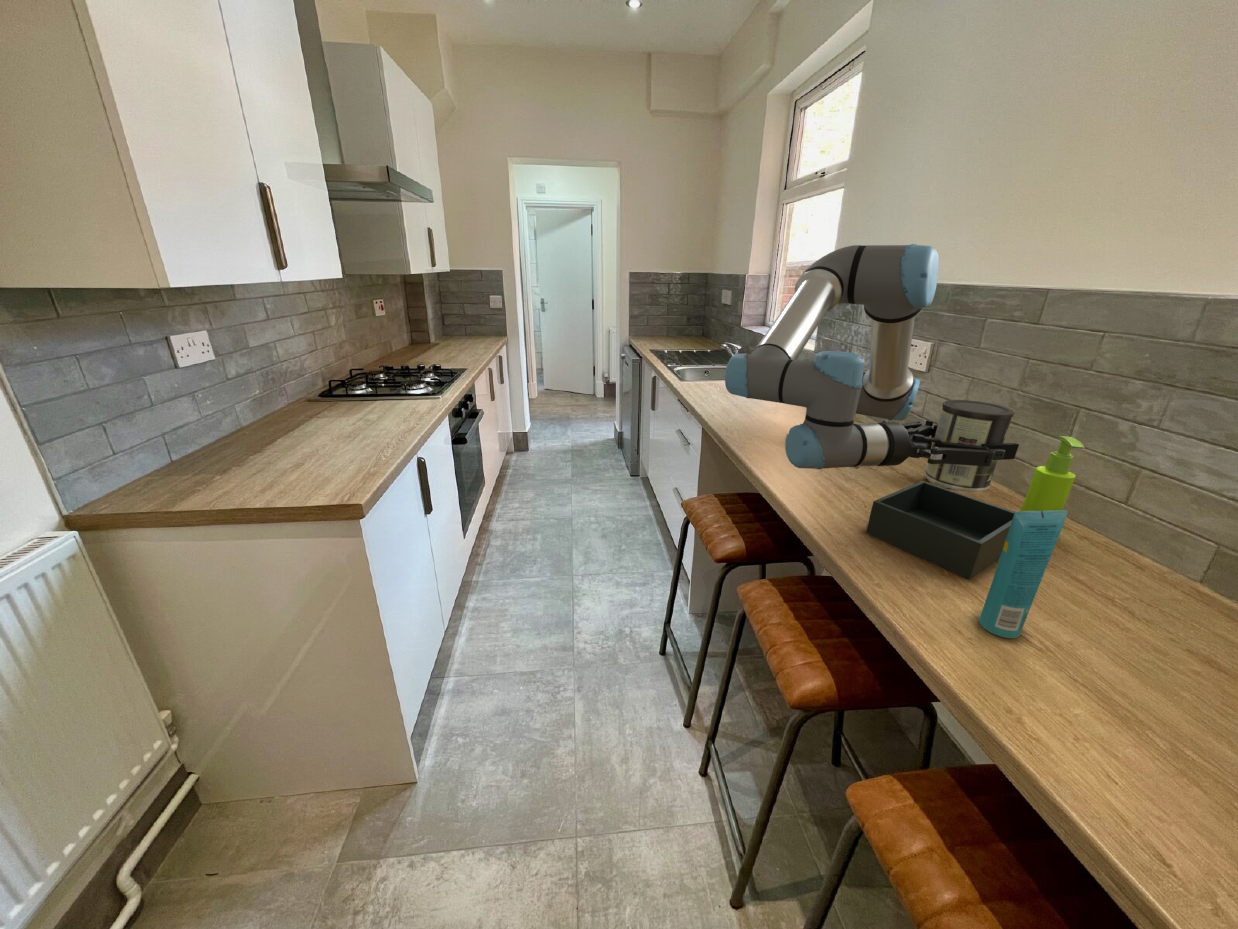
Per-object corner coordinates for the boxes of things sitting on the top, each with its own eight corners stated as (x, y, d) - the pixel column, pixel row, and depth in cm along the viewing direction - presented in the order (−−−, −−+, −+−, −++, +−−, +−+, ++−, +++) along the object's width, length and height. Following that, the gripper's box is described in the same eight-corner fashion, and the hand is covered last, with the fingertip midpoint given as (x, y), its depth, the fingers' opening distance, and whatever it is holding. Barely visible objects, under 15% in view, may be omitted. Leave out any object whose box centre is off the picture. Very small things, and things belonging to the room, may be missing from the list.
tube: (1004, 614, 74) (1048, 501, 67) (1035, 636, 70) (1085, 518, 63) (962, 619, 73) (1002, 504, 66) (990, 642, 69) (1036, 522, 61)
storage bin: (913, 509, 107) (921, 480, 104) (1013, 548, 92) (1026, 515, 90) (865, 532, 97) (873, 501, 94) (969, 579, 83) (981, 544, 80)
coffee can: (973, 472, 94) (995, 401, 89) (1000, 495, 85) (1027, 416, 79) (914, 467, 96) (933, 397, 90) (935, 489, 86) (958, 412, 81)
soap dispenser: (1022, 537, 96) (1059, 442, 89) (1010, 522, 102) (1043, 431, 95) (1059, 543, 94) (1099, 446, 87) (1044, 527, 100) (1080, 435, 93)
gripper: (835, 443, 96) (935, 440, 100) (916, 491, 76) (1040, 485, 79) (842, 406, 93) (945, 404, 97) (929, 446, 73) (1056, 441, 76)
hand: (988, 440), depth 88 cm, fingers closed on coffee can, 10 cm apart
